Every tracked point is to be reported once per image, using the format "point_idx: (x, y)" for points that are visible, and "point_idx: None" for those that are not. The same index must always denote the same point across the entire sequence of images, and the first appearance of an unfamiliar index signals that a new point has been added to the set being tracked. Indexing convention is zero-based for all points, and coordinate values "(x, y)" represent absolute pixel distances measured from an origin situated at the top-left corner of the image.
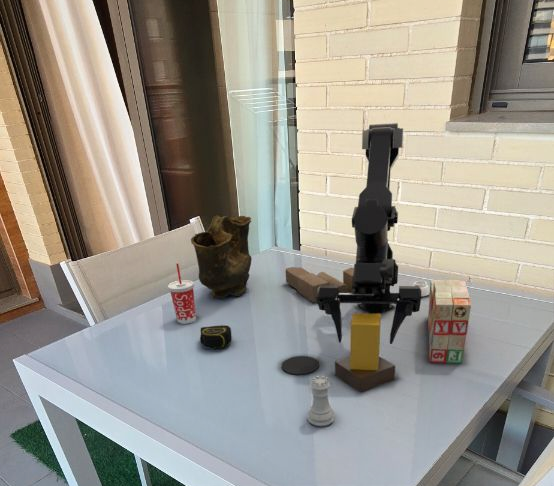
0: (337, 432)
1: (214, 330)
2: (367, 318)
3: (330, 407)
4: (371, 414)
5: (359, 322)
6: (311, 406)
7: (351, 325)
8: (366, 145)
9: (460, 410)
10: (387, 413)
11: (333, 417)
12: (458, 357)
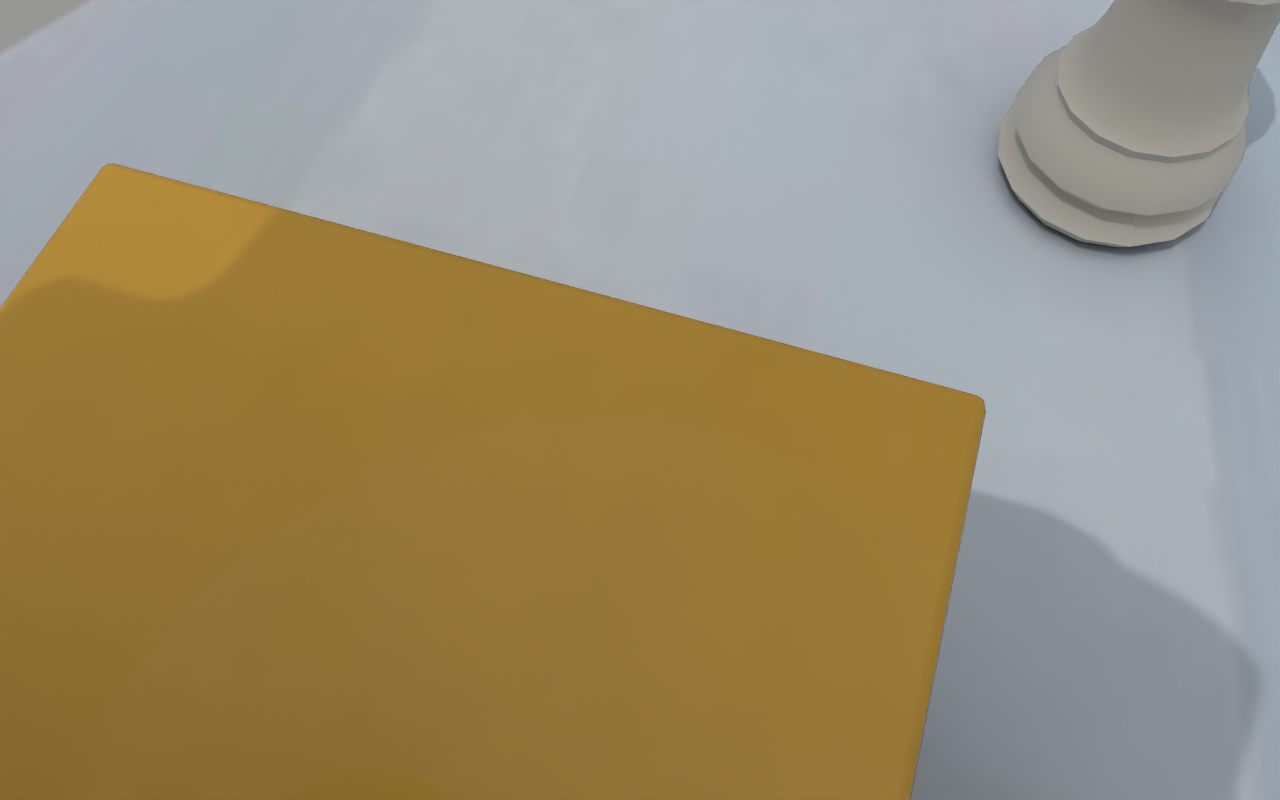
0: (972, 36)
1: None
2: (220, 754)
3: (1063, 74)
4: (677, 183)
5: (646, 455)
6: (1245, 114)
7: (944, 414)
8: None
9: (8, 124)
10: (549, 175)
11: (1005, 136)
12: None
